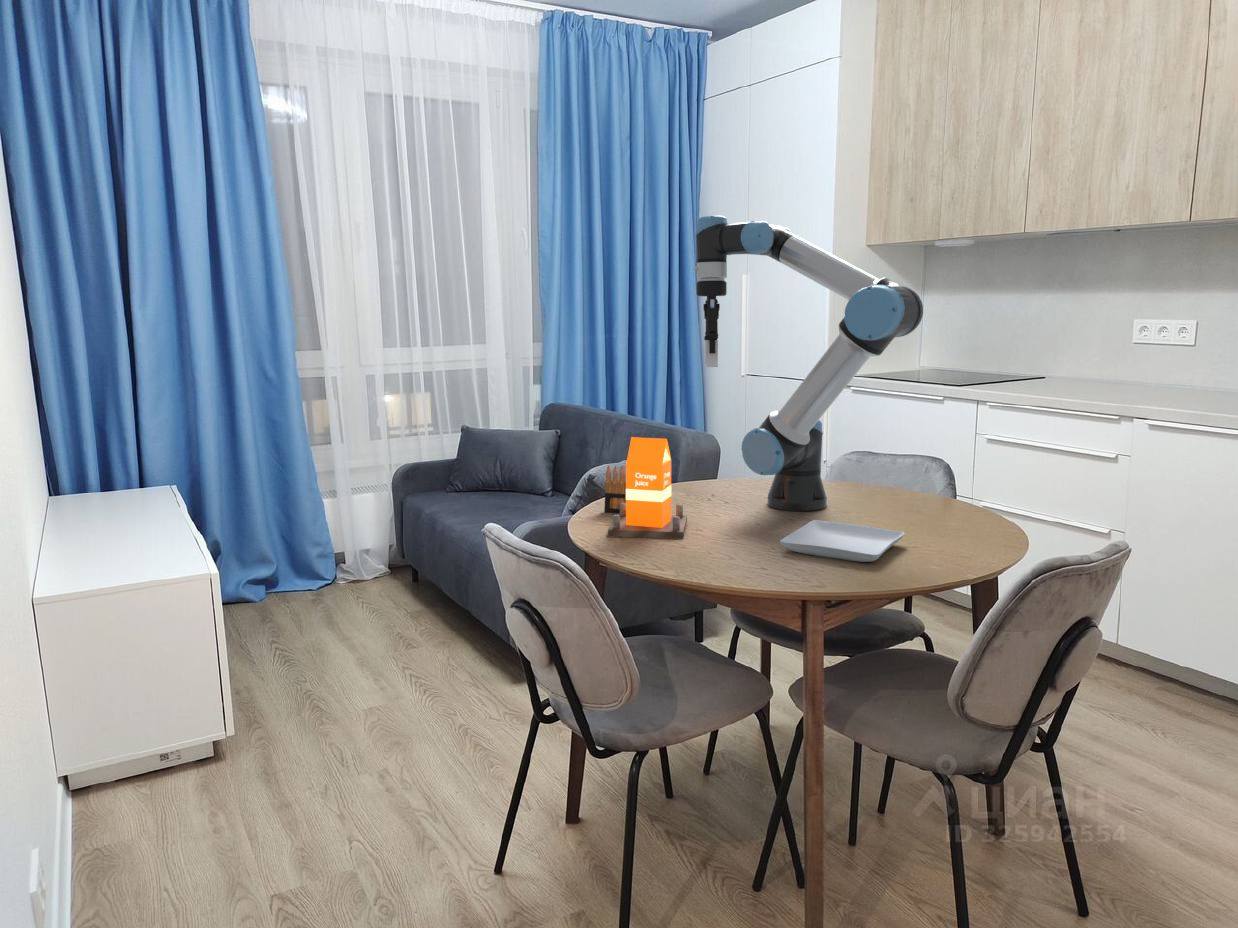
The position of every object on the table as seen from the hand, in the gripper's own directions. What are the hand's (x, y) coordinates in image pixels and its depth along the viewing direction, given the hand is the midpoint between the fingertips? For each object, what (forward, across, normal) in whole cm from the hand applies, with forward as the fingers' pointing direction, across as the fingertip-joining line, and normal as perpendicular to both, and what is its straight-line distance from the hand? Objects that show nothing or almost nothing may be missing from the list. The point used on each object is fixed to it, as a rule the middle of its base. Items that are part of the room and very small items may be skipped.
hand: (711, 365), depth 231 cm
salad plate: (+38, +41, +27) cm, 62 cm away
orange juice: (+35, +26, -15) cm, 46 cm away
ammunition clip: (+36, +10, -22) cm, 44 cm away
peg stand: (+36, +26, -15) cm, 47 cm away
